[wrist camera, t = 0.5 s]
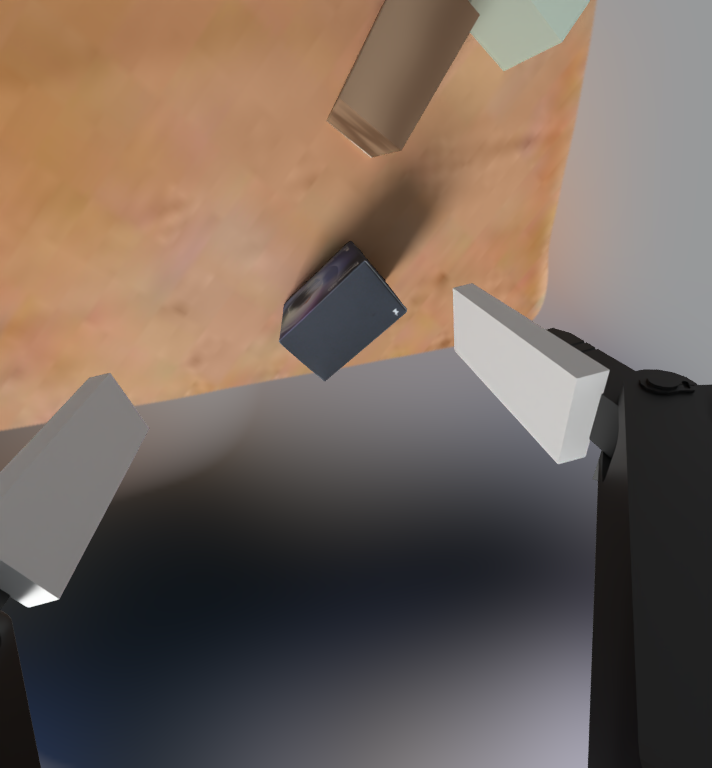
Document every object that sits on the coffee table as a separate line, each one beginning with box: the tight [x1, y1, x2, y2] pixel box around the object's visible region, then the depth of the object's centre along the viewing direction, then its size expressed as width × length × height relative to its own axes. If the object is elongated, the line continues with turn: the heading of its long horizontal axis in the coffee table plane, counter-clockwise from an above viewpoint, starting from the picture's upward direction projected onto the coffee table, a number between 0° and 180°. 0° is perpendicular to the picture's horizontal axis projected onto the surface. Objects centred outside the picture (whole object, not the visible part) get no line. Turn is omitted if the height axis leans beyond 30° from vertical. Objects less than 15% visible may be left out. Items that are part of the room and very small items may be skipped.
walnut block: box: [327, 0, 480, 158], centre depth 25 cm, size 5×8×11 cm, turn 147°
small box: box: [279, 241, 407, 381], centre depth 34 cm, size 11×6×10 cm, turn 131°
